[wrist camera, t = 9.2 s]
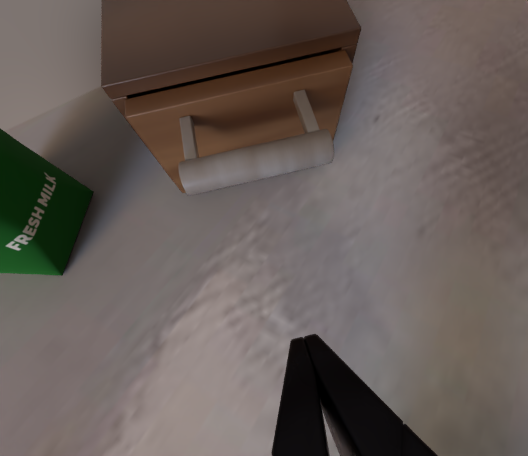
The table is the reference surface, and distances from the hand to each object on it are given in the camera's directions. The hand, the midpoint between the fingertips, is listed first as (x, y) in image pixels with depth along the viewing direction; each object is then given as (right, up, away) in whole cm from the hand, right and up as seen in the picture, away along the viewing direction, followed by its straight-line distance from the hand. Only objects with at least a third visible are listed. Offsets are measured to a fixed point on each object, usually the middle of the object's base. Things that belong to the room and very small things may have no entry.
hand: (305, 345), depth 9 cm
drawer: (-3, +12, +13) cm, 18 cm away
